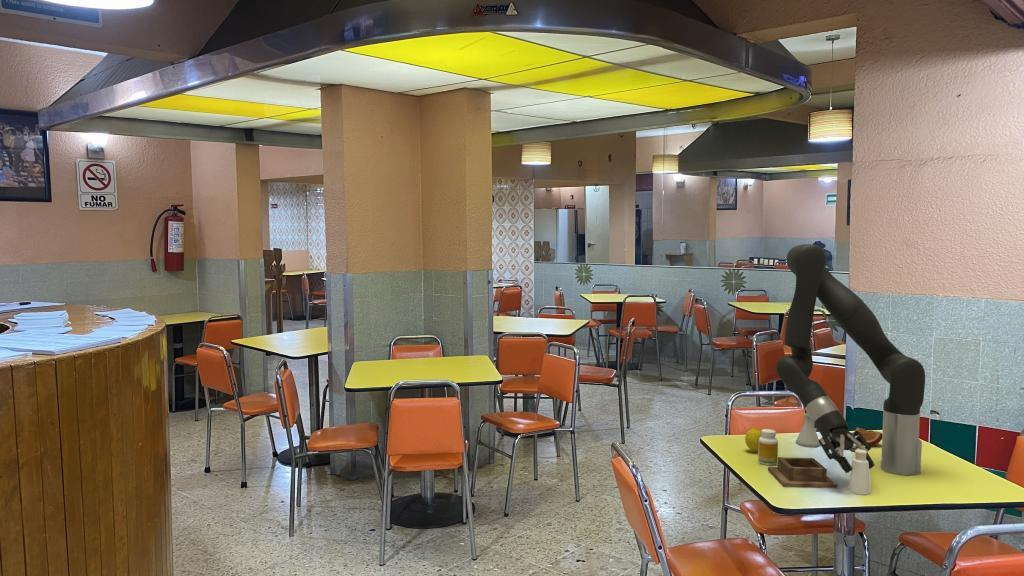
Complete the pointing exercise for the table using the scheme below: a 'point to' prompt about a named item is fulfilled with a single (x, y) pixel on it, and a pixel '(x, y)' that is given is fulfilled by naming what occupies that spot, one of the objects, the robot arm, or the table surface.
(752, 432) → the fruit
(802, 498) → the table surface
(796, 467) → the socket cup
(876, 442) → the fruit slice
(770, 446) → the supplement bottle
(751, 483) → the table surface
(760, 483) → the table surface
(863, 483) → the pepper shaker
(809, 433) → the flask
